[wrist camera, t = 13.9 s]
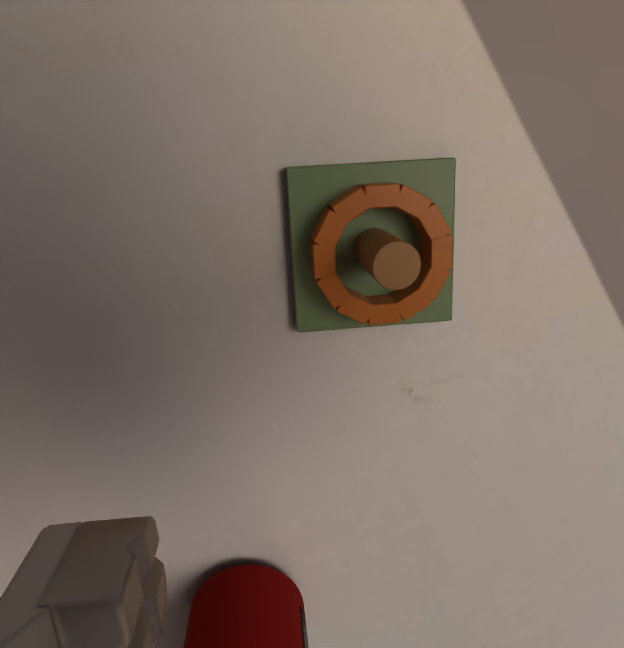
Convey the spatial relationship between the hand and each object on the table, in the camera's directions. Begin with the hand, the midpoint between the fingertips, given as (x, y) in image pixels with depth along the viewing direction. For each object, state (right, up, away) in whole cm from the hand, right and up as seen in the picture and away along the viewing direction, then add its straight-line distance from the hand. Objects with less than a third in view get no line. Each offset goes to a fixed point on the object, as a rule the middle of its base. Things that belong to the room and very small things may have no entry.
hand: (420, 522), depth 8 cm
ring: (+1, +7, +18) cm, 19 cm away
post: (+1, +7, +18) cm, 20 cm away
